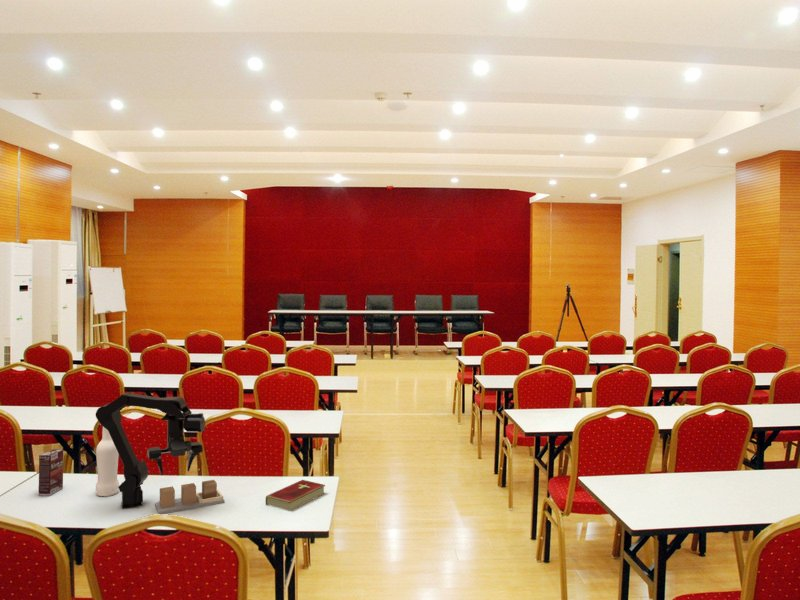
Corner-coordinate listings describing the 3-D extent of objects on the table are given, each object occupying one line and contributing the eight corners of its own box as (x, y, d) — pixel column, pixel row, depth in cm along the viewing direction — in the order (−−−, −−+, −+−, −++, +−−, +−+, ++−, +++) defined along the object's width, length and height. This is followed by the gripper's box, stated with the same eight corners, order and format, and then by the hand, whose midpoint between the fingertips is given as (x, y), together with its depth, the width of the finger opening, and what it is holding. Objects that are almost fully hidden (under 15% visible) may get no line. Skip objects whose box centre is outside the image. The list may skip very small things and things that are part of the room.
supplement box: (50, 496, 215) (50, 455, 215) (37, 496, 215) (37, 455, 215) (64, 488, 224) (64, 449, 224) (52, 488, 224) (52, 449, 224)
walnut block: (216, 498, 212) (216, 483, 212) (204, 500, 210) (204, 485, 210) (213, 495, 216) (214, 479, 216) (201, 497, 214) (202, 481, 214)
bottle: (123, 490, 223) (123, 415, 222) (110, 497, 215) (111, 420, 214) (104, 489, 224) (104, 414, 223) (91, 496, 216) (91, 419, 215)
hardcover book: (265, 505, 210) (265, 494, 210) (301, 488, 228) (301, 478, 228) (289, 512, 204) (289, 501, 204) (325, 494, 222) (325, 484, 222)
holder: (158, 514, 199) (158, 495, 199) (155, 505, 208) (155, 486, 208) (224, 502, 211) (224, 484, 211) (218, 494, 220) (218, 476, 220)
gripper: (151, 439, 196) (151, 483, 197) (206, 433, 206) (205, 475, 206) (147, 432, 206) (146, 474, 206) (199, 426, 216) (199, 466, 216)
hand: (175, 473), depth 208 cm, fingers open, 9 cm apart
